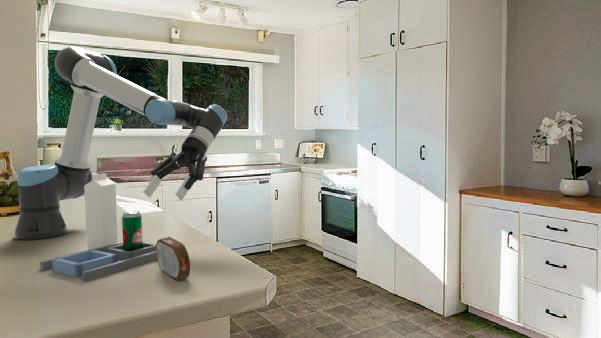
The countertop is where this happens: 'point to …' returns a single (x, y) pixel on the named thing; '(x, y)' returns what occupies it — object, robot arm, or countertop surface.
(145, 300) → the countertop surface
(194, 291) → the countertop surface
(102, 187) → the milk
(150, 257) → the grey railed frame
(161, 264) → the tin
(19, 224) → the robot arm
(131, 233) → the soda can
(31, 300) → the countertop surface
